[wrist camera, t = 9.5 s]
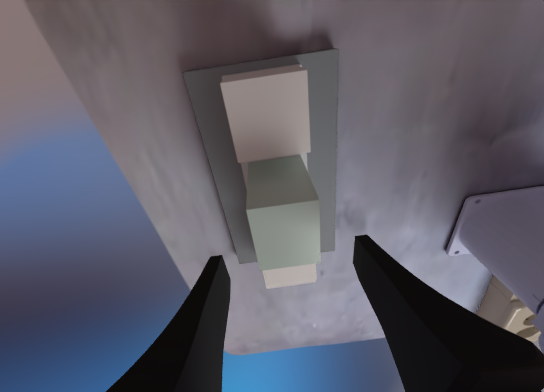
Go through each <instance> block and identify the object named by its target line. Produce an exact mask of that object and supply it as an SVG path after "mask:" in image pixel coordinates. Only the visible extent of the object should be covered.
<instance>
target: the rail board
mask: <svg viewBox="0 0 544 392" xmlns="http://www.w3.org/2000/svg"><path fill="white" fill-rule="evenodd" d="M338 58H339V49H335V48H334V49H327V50H321V51H314V52H308V53H302V54H295V55H289V56H282V57H276V58H269V59H263V60H256V61H250V62H243V63H237V64H230V65H224V66H217V67H211V68H204V69H198V70H191V71H186V72H183V76H184V80H185V83H186V86H187V90H188V93H189V96H190V100H191V103H192V106H193V110H194V113H195V117H196V120H197V123H198V127H199V130H200V133H201V137H202V140H203V143H204V147H205V150H206V153H207V157H208V160H209V163H210V167H211V170H212V173H213V177H214V180H215V183H216V187H217V190H218V193H219V197H220V200H221V203H222V207H223V210H224V213H225V217H226V220H227V223H228V227H229V230H230V233H231V237H232V240H233V243H234V247H235V250H236V253H237V257H238V260H239V263H240V264H243V263H250V262H257V261H258V260H257V256H256V251H255V247H254V243H253V238H252V234H251V229H250V225H249V221H248V216H247V212H246V200H247V178H248V163H253V162H260V161H267V160H274V159H281V158H288V157H295V156H301V157H302V160H303V162H304V164H305V167H306V169H307V172H308V174H309V176H310V179H311V181H312V183H313V186H314V188H315V190H316V193H317V195H318V198H319V204H320V253H321V252H328V251H335V210H336V159H337V109H338ZM263 275H264V279H265V283H266V288H267V289H270V288H277V287H284V286H291V285H298V284H305V283H313V282H316V263H315V264H308V265H300V266H293V267H286V268H278V269H271V270H264V271H263Z"/></svg>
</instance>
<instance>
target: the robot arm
mask: <svg viewBox="0 0 544 392" xmlns="http://www.w3.org/2000/svg"><path fill="white" fill-rule="evenodd" d="M468 253H472V254H473V255H474V256H475V257H476V258H477V259H478V260H479V261H480V262H481V263H482V264H483V265H484V266H485V267H486V268H487V269H488V270H489V271H490V272H491V273H492V274H493V275H494V276H495V277H496V278H497V279H498V280H500V281H501V282H502V283H503V284H504V285H505V286H506V287H507V288H508V289H509V290H510V291H511V292H512V293H513V294H514V295H515V296H516V297H517V298H518V299H519V300H520V301H521V302H522V303H523V304H524V305H525V306H527V307H528V308H529V309H530V310H531V311H532V312H533V313H534V314H535V315H536V317H535V318H534V319H533V320H532V321H531V323H532V324H533V325H534V326H535V327H536V328H537V329H538V330H539V331H540V332H541V334H540V335H539V338H538V342H539V346H540V348H541V350H542V352H543V353H542V352H541V351H540V350H539V349H538V348H537V347H536V346H535V345H534V344H533V343H532V342H531V341H529V340H527V339H525V338H523V337H521V336H519V335H516V334H514V333H512V332H510V331H508V330H506V329H504V328H501V327H499V326H497V325H495V324H493V323H491V322H489V321H487V320H486V319H484V318H482V317H480V316H478V315H476V314H474V313H472V312H471V311H469V310H467V309H465V308H464V307H462V306H460V305H458V304H457V303H455V302H453V301H452V300H450V299H448V298H447V297H445V296H443V295H442V294H440V293H439V292H437V291H436V290H434V289H433V288H431V287H430V286H428V285H427V284H425V283H424V282H422V281H421V280H420V279H418V278H417V277H416V276H414V275H413V274H412V273H410V272H409V271H408V270H407V269H405V268H404V267H403V266H402V265H400V264H399V263H398V262H397V261H396V260H395V259H393V258H392V257H391V256H390V255H389V254H388V253H386V252H385V251H384V250H383V249H382V248H381V247H380V246H379V245H378V244H376V243H375V242H374V241H373V240H372V239H371V238H370V237H369V236H368V235H361V236H355V244H354V256H353V264H354V267H355V270H356V273H357V276H358V278H359V281H360V283H361V285H362V287H363V289H364V291H365V293H366V295H367V297H368V299H369V302H370V304H371V306H372V308H373V310H374V312H375V314H376V316H377V318H378V320H379V322H380V324H381V326H382V329H383V331H384V334H385V336H386V339H387V342H388V344H389V347H390V349H391V352H392V355H393V358H394V360H395V363H396V366H397V368H398V372H399V374H400V377H401V380H402V383H403V386H404V389H405V392H541V390H542V389H543V388H544V186H539V187H532V188H525V189H518V190H511V191H504V192H497V193H490V194H483V195H476V196H470V197H468V198H467V199H466V200H465V202H464V205H463V208H462V210H461V213H460V216H459V218H458V221H457V223H456V226H455V229H454V231H453V234H452V237H451V239H450V242H449V245H448V247H447V250H446V254H447V255H448V256H454V255H461V254H468ZM229 303H230V277H229V274H228V271H227V268H226V265H225V262H224V260H223V257H222V255H219V256H212V257H210V258H209V260H208V262H207V264H206V266H205V268H204V269H203V271H202V273H201V275H200V277H199V279H198V280H197V282H196V284H195V285H194V287H193V289H192V290H191V292H190V294H189V295H188V297H187V298H186V300H185V301H184V303H183V304H182V306H181V307H180V309H179V310H178V312H177V313H176V315H175V316H174V317H173V319H172V320H171V321H170V323H169V324H168V325H167V327H166V328H165V329H164V330H163V332H162V333H161V334H160V335H159V337H158V338H157V339H156V340H155V341H154V343H153V344H152V345H151V346H150V347H149V348H148V350H147V351H146V352H145V353H144V354H143V355H142V356H141V357H140V358H139V359H138V360H137V361H136V362H135V364H134V365H133V366H132V367H131V368H130V369H129V370H128V371H127V372H126V373H125V374H124V375H123V376H122V377H121V378H120V379H119V380H118V381H117V382H116V383H114V384H113V385H112V386H111V387H110V388H109V389H108V390H107V391H106V392H222V365H223V349H224V339H225V332H226V325H227V318H228V310H229Z"/></svg>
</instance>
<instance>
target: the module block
mask: <svg viewBox="0 0 544 392" xmlns="http://www.w3.org/2000/svg"><path fill="white" fill-rule="evenodd" d="M246 212H247V216H248V221H249V225H250V229H251V234H252V238H253V243H254V247H255V251H256V256H257V260H258V264H259V269H260V271H264V270H271V269H278V268H286V267H293V266H300V265H308V264H315V263H321V258H320V204H319V198H318V195H317V193H316V190H315V188H314V186H313V183H312V181H311V179H310V176H309V174H308V172H307V169H306V167H305V164H304V162H303V160H302V157H301V156H295V157H288V158H281V159H274V160H267V161H260V162H253V163H248V178H247V200H246Z"/></svg>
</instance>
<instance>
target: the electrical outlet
mask: <svg viewBox="0 0 544 392" xmlns="http://www.w3.org/2000/svg"><path fill="white" fill-rule="evenodd" d="M477 315H478V316H480V317H482V318H484V319H486V320H487V321H489V322H491V323H493V324H495V325H497V326H499V327H501V328H504V329H506V330H508V331H510V332H512V333H514V334H516V335H519V336H521V337H523V338H525V339H527V340H529V341H531V342H535V341H538V338H539V335H540V334H541V332H540V331H539V330H538V329H537V328H536V327H535V326H534V325H533V324H532V323H531V321H532V320H533V319H534V318H535V317H536V315H535V314H534V313H533V312H532V311H531V310H530V309H529V308H528V307H527V306H525V305H524V304H523V303H522V302H521V301H520V300H519V299H518V298H517V297H516V296H515V295H514V294H513V293H512V292H511V291H510V290H509V289H508V288H507V287H506V286H505V285H504V284H503V283H502V282H501V281H500V280H498V279H497V278H496V277H495V276H494V275H493V277H492V280H491V282H490V284H489V287H488V289H487V291H486V294H485V296H484V298H483V301H482V303H481V305H480V308H479V310H478V313H477Z"/></svg>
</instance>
